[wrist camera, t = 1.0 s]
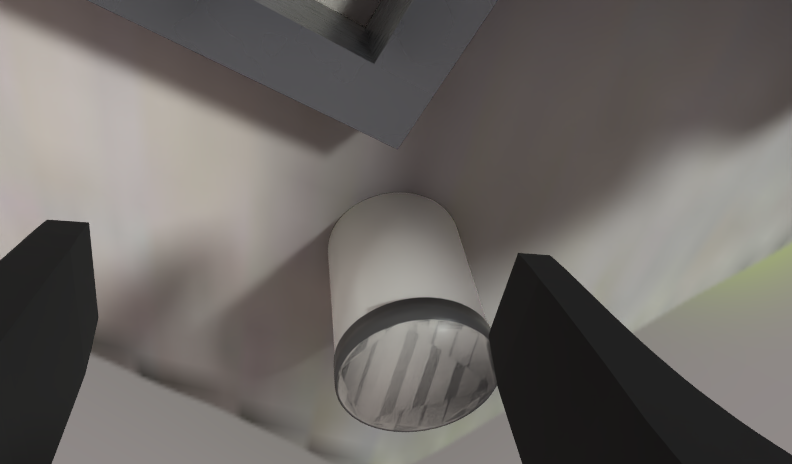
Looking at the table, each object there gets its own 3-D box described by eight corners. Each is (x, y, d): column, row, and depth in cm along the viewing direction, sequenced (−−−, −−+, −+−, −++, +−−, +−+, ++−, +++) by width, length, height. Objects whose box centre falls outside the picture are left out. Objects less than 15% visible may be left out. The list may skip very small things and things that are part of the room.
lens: (486, 223, 24) (535, 349, 19) (414, 312, 26) (441, 446, 21) (369, 169, 22) (391, 295, 17) (302, 271, 24) (304, 408, 19)
